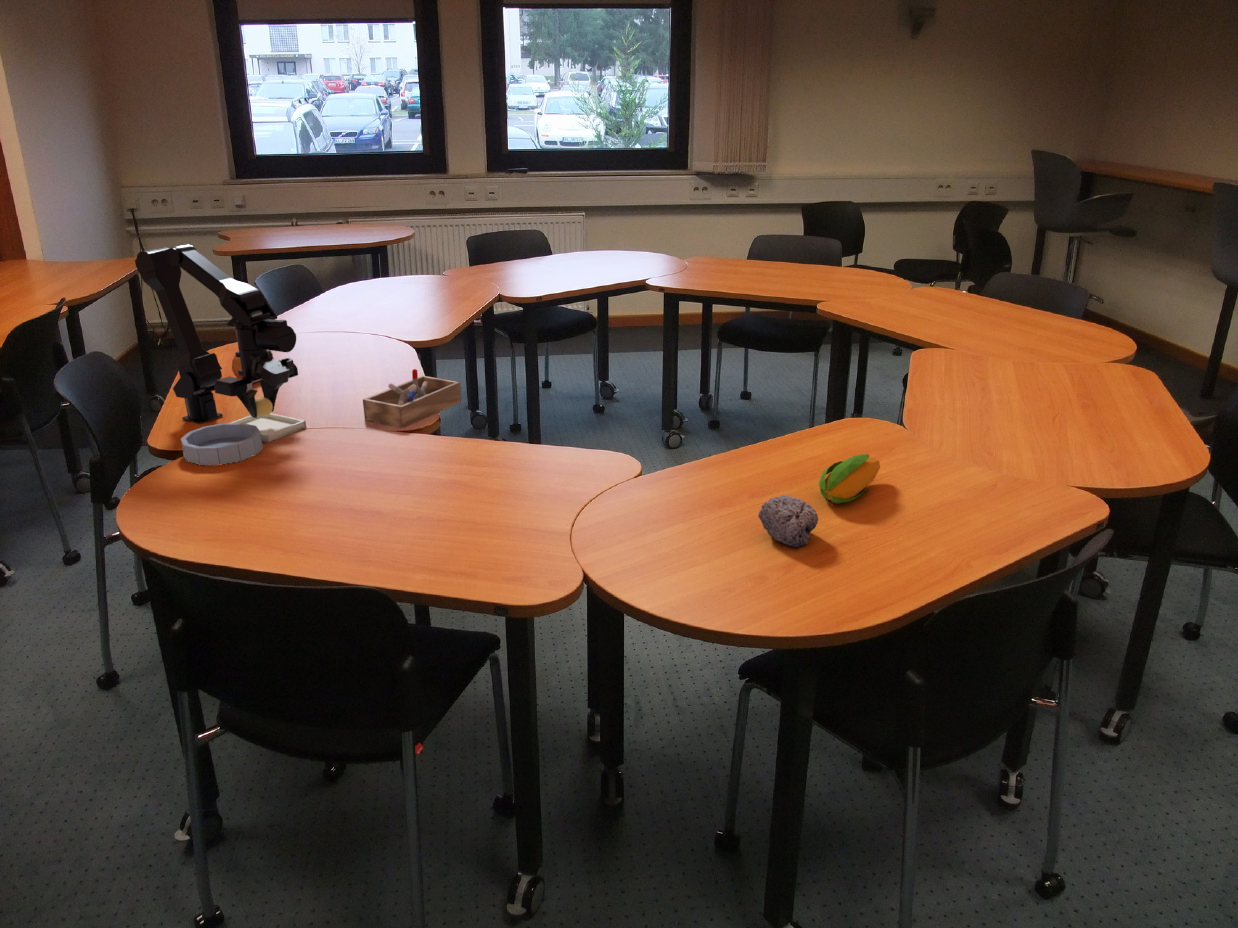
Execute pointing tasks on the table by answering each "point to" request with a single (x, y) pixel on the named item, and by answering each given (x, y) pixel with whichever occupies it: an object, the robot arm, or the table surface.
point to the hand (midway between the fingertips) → (262, 414)
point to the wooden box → (412, 402)
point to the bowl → (221, 443)
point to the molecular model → (410, 390)
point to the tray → (274, 425)
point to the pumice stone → (788, 520)
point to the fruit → (236, 366)
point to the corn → (848, 478)
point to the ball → (263, 406)
